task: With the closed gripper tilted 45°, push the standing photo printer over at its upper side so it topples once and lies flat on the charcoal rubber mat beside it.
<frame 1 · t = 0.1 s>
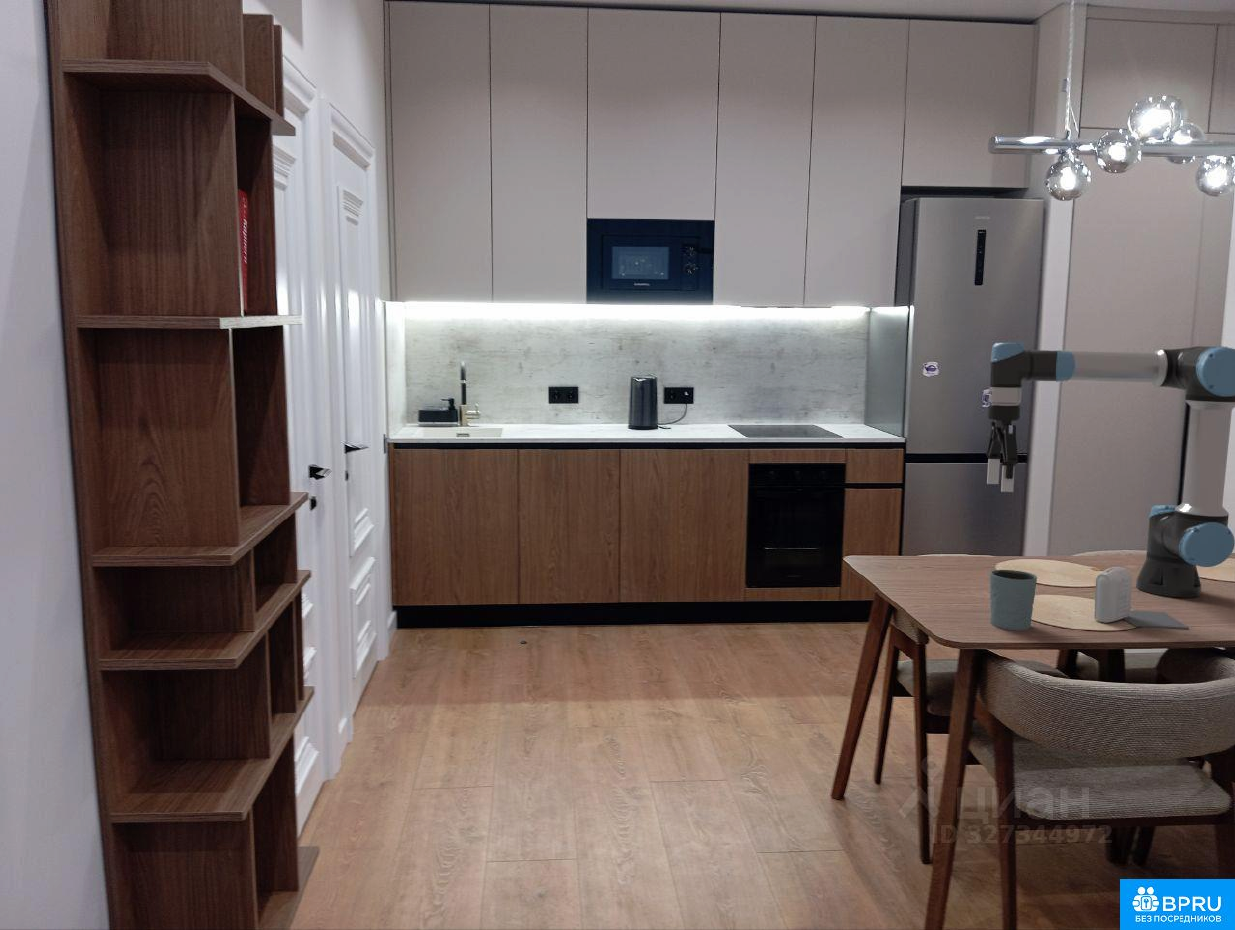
hand: (999, 487, 249), 28 cm above the table, tool pointing down, fingers open, 13 cm apart
mat: (1149, 619, 233), on the table
photo printer: (1112, 619, 232), on the table, touching mat
teal cup: (1009, 625, 226), on the table
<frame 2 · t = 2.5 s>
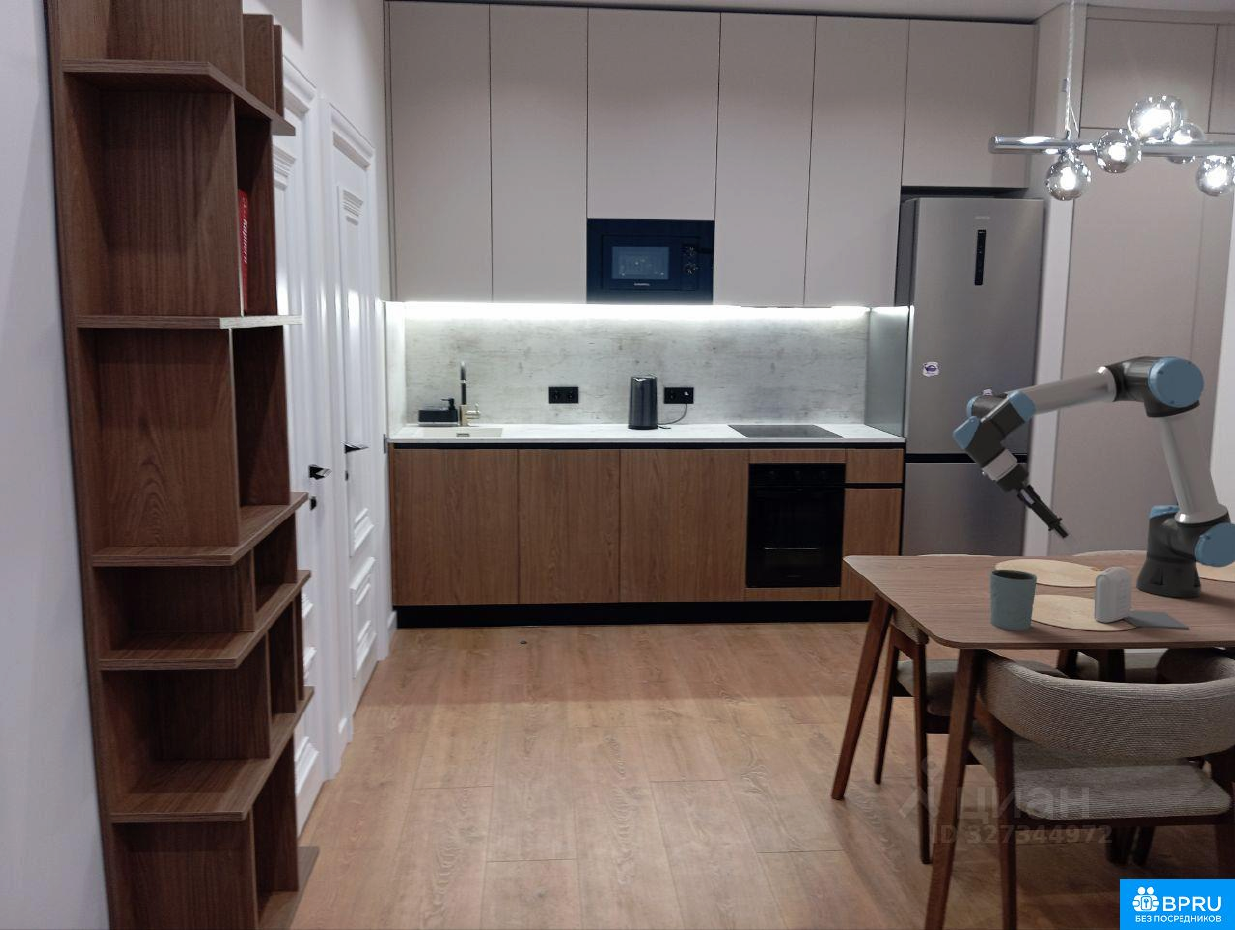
hand: (1075, 546, 233), 17 cm above the table, tool tilted 45°, fingers closed
nothing on the table moved.
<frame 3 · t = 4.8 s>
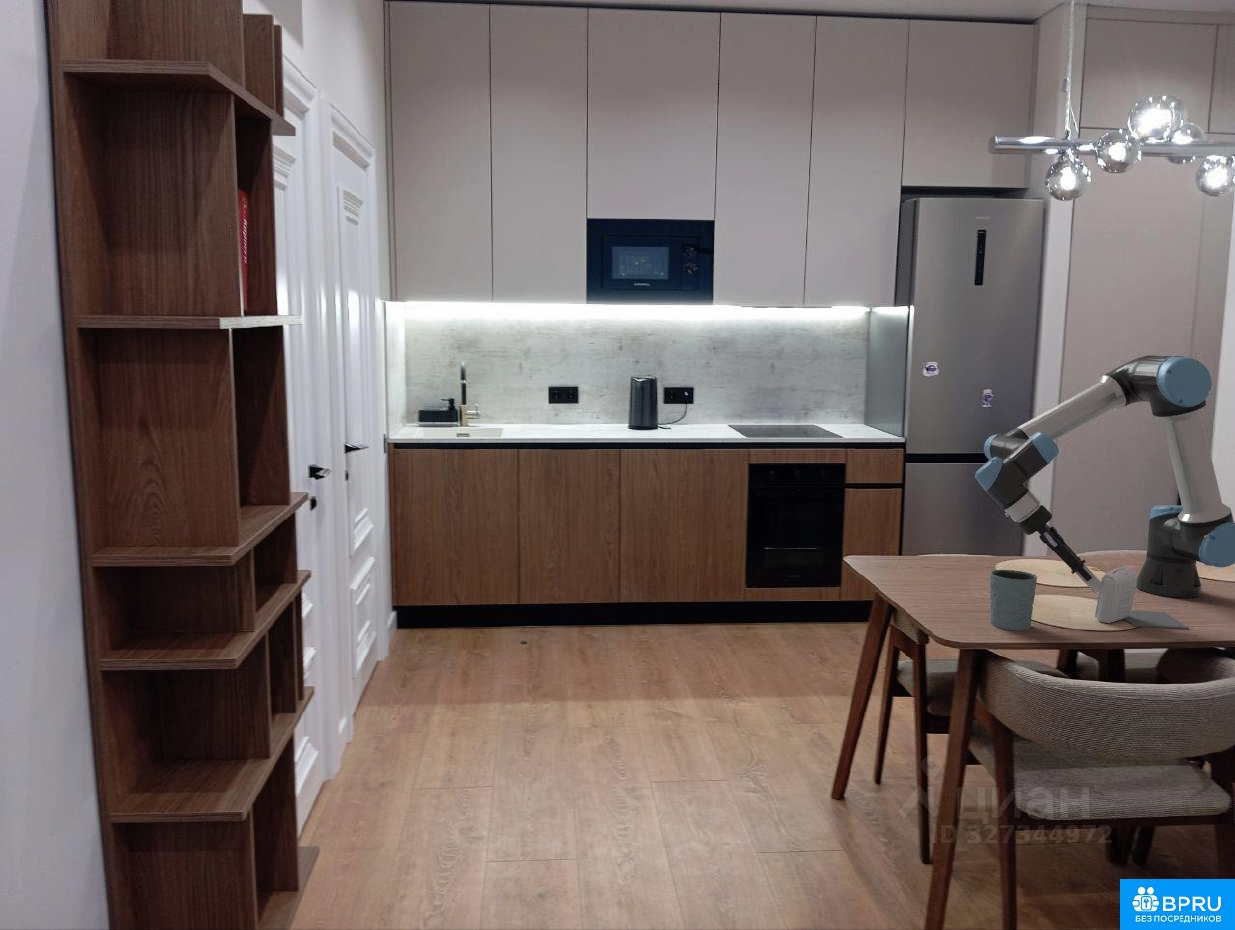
hand: (1099, 589, 232), 7 cm above the table, tool tilted 45°, fingers closed
photo printer: (1112, 618, 232), on the table, touching gripper, mat
everything else where it was.
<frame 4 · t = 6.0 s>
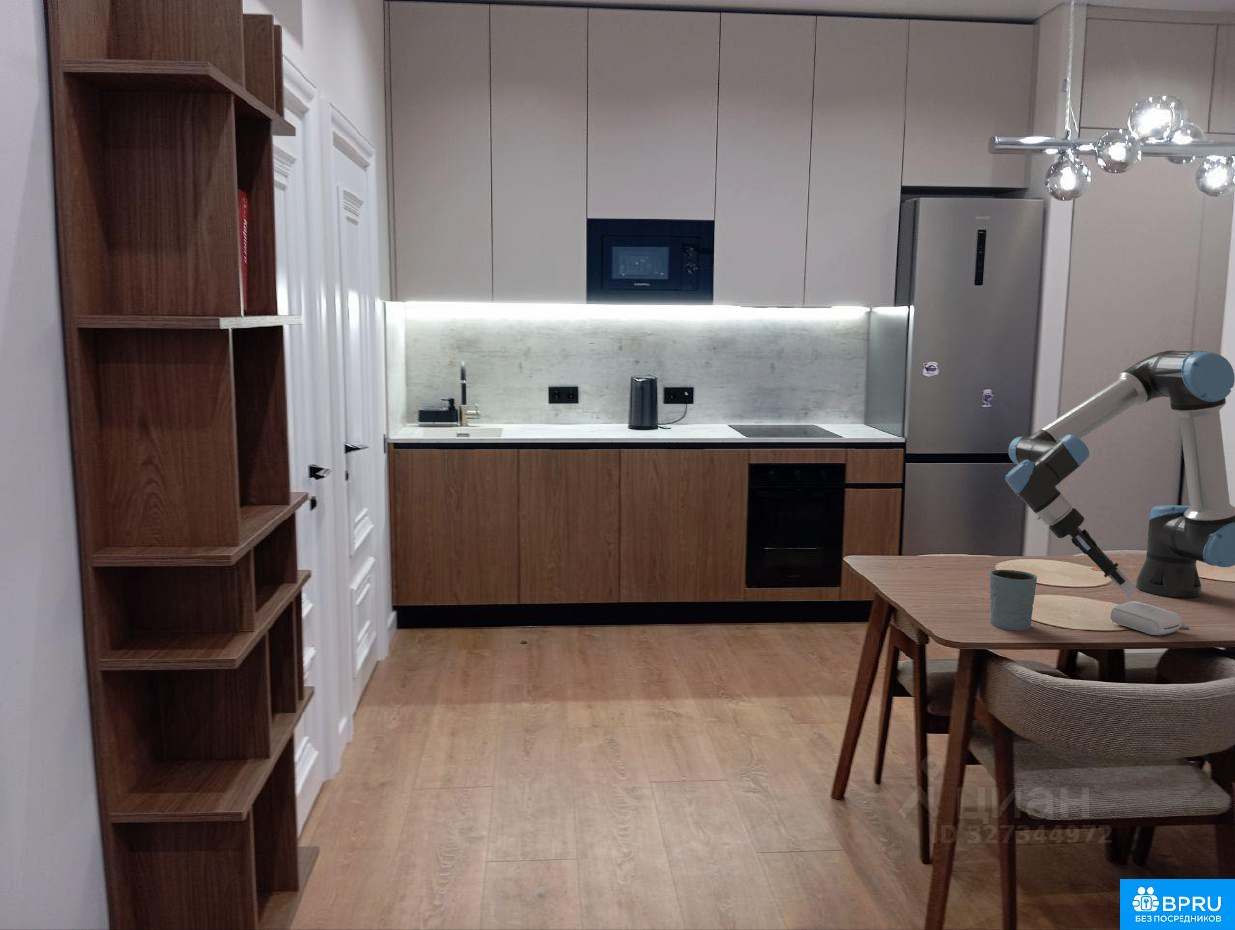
hand: (1132, 592, 230), 7 cm above the table, tool tilted 45°, fingers closed
photo printer: (1121, 610, 230), point 3 cm above the table, touching mat
everything else where it was.
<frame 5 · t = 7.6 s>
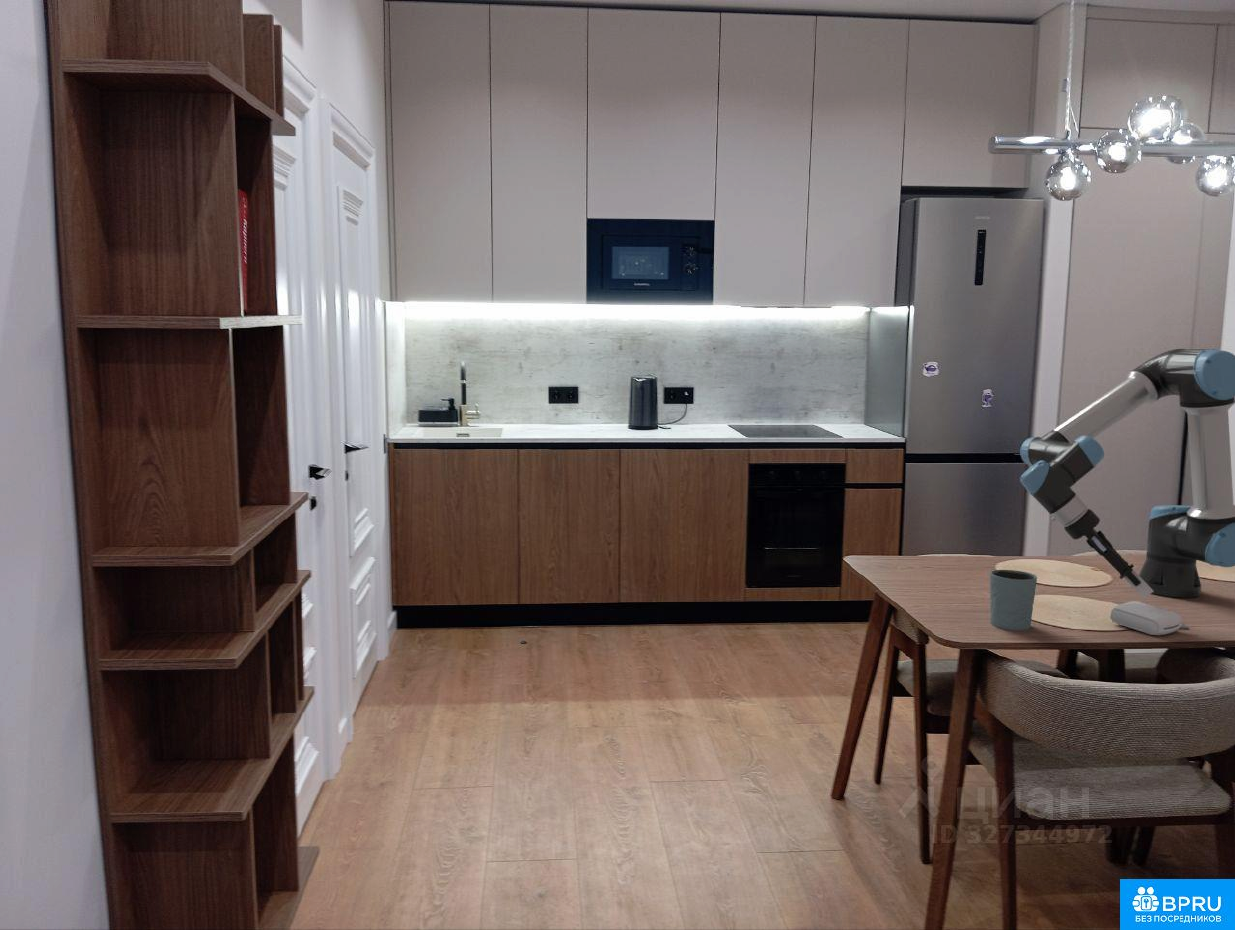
hand: (1148, 594, 229), 7 cm above the table, tool tilted 45°, fingers closed
nothing on the table moved.
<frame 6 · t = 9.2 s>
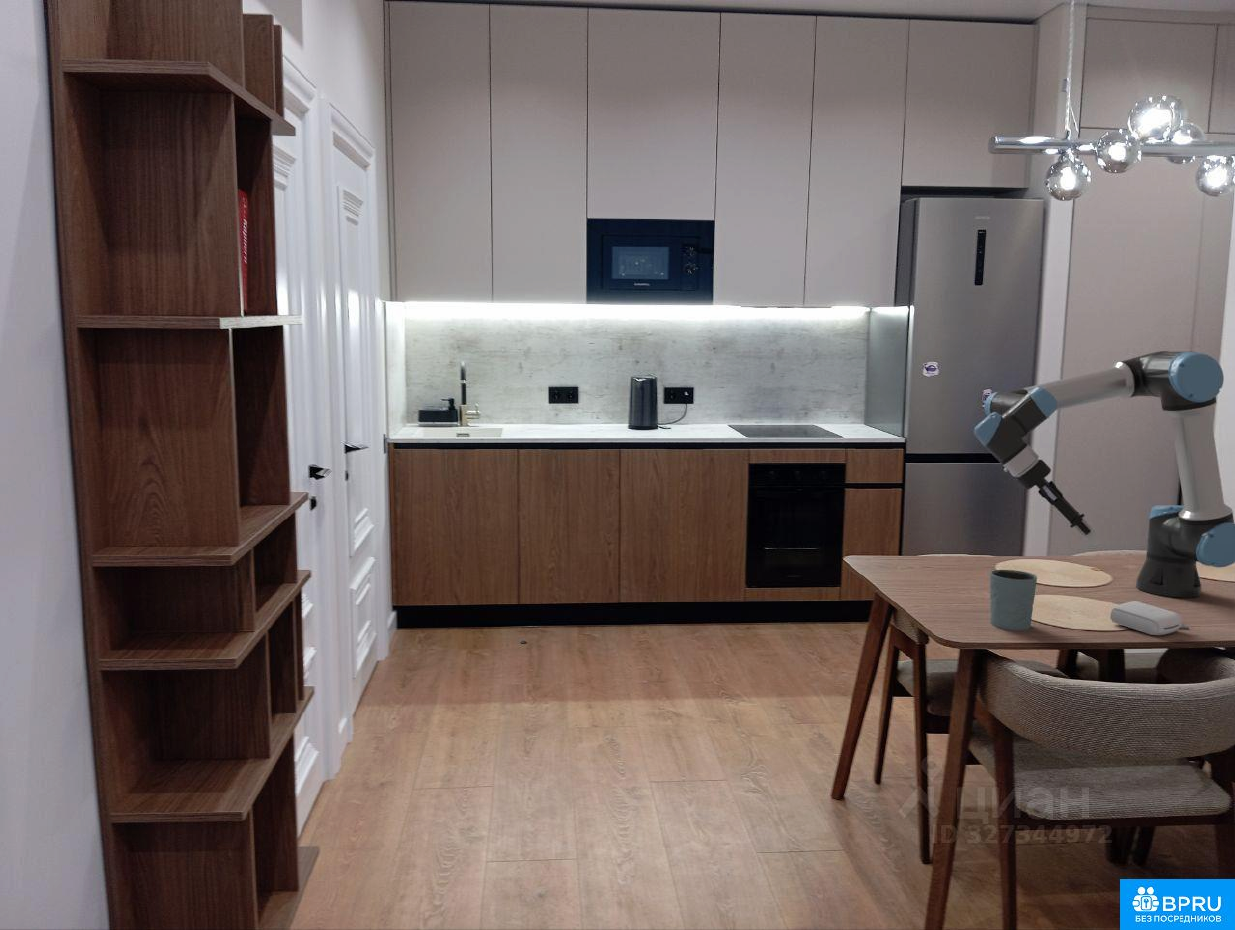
hand: (1098, 542, 232), 18 cm above the table, tool tilted 45°, fingers closed
nothing on the table moved.
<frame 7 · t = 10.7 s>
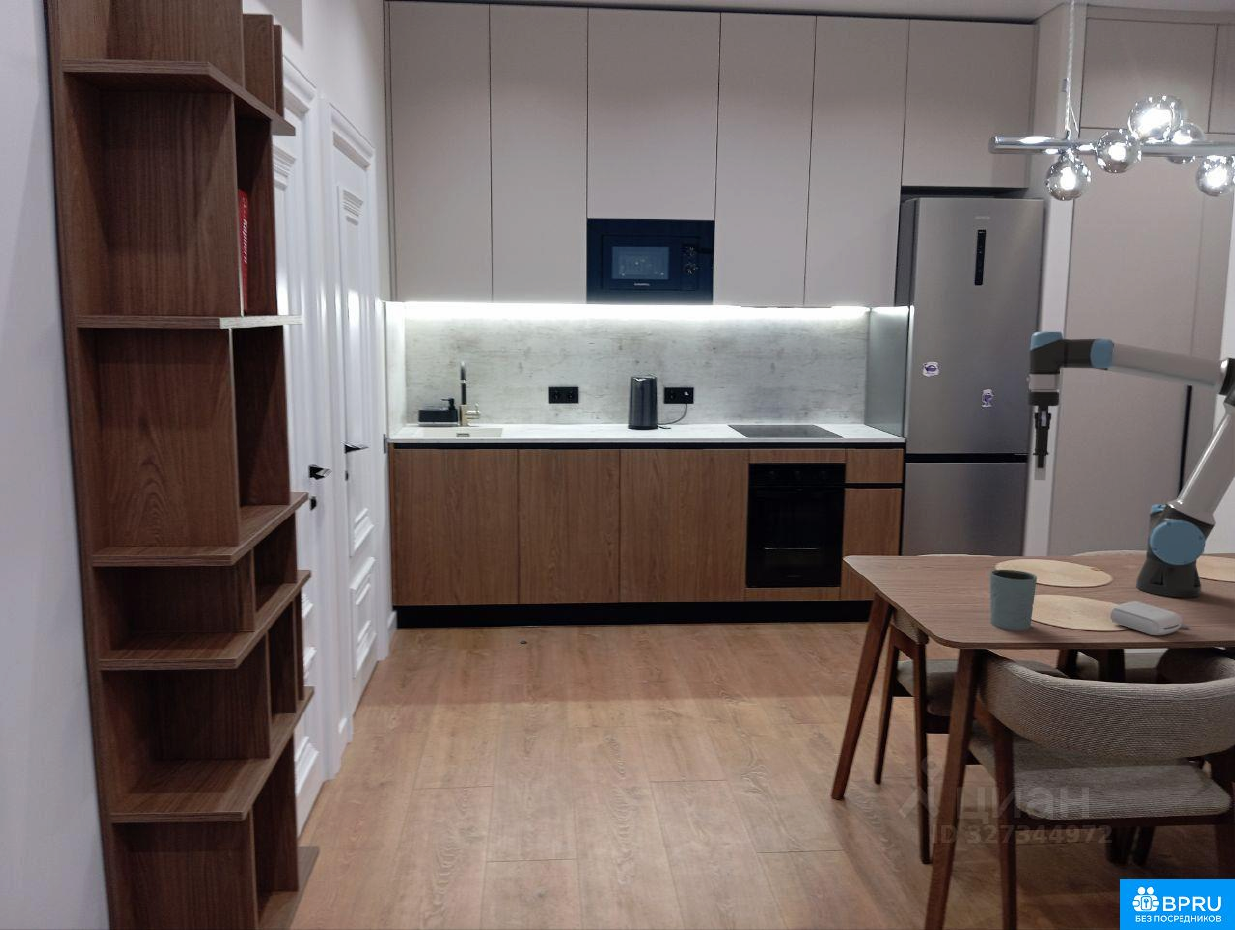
hand: (1039, 479, 260), 29 cm above the table, tool pointing down, fingers closed
nothing on the table moved.
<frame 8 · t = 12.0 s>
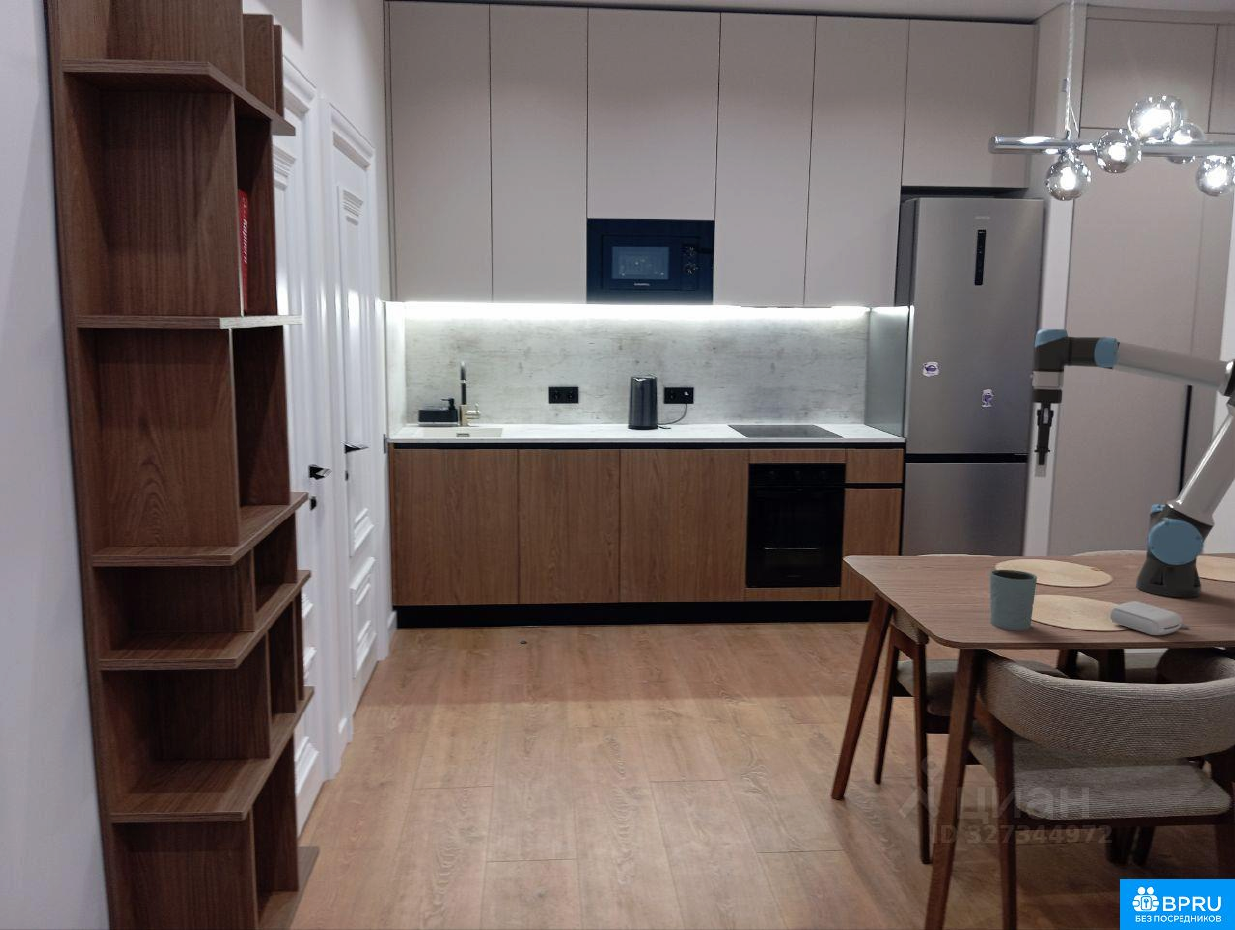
hand: (1040, 476, 261), 29 cm above the table, tool pointing down, fingers closed
nothing on the table moved.
at the end: photo printer tilted 93°; photo printer touching mat, table; teal cup moved 0.2 cm from its start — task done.
